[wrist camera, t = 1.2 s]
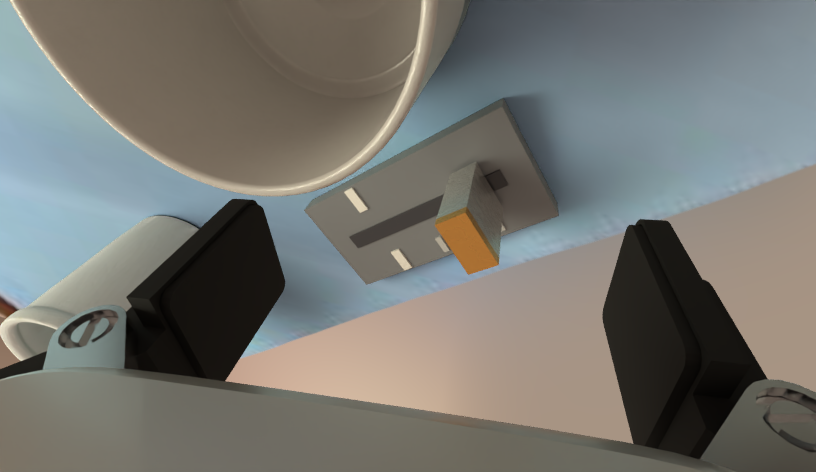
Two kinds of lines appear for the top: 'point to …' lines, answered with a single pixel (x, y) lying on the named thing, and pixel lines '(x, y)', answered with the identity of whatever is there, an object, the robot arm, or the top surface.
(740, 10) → the top surface
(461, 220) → the fader tab
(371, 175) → the console board
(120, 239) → the utensil holder
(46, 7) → the planter
